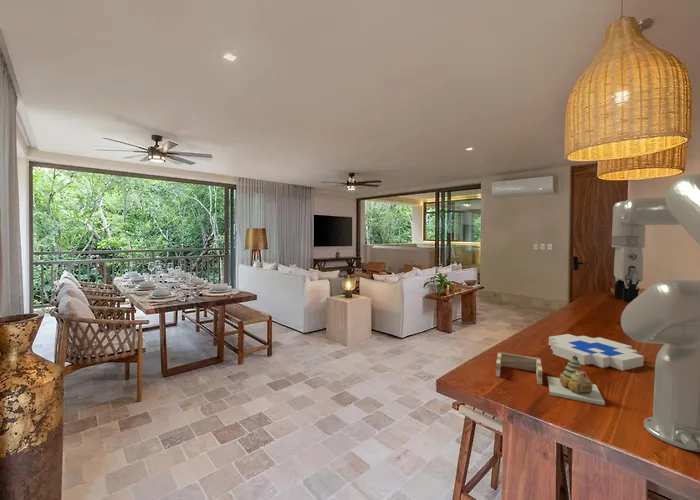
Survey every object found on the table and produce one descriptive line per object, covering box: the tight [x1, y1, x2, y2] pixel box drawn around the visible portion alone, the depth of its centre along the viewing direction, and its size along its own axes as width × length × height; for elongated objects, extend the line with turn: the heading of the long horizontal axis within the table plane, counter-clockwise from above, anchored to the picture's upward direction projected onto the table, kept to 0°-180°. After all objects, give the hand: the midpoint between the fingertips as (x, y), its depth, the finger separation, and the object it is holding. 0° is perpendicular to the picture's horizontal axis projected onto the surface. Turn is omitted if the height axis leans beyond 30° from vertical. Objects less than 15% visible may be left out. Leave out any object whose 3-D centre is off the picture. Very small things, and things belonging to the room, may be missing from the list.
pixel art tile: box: [548, 333, 645, 371], centre depth 129 cm, size 28×4×28 cm
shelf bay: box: [495, 351, 543, 385], centre depth 112 cm, size 12×13×4 cm
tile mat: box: [546, 375, 606, 406], centre depth 99 cm, size 12×13×1 cm
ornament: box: [559, 356, 594, 393], centre depth 98 cm, size 8×6×10 cm
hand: (625, 299), depth 98 cm, fingers open, 9 cm apart
